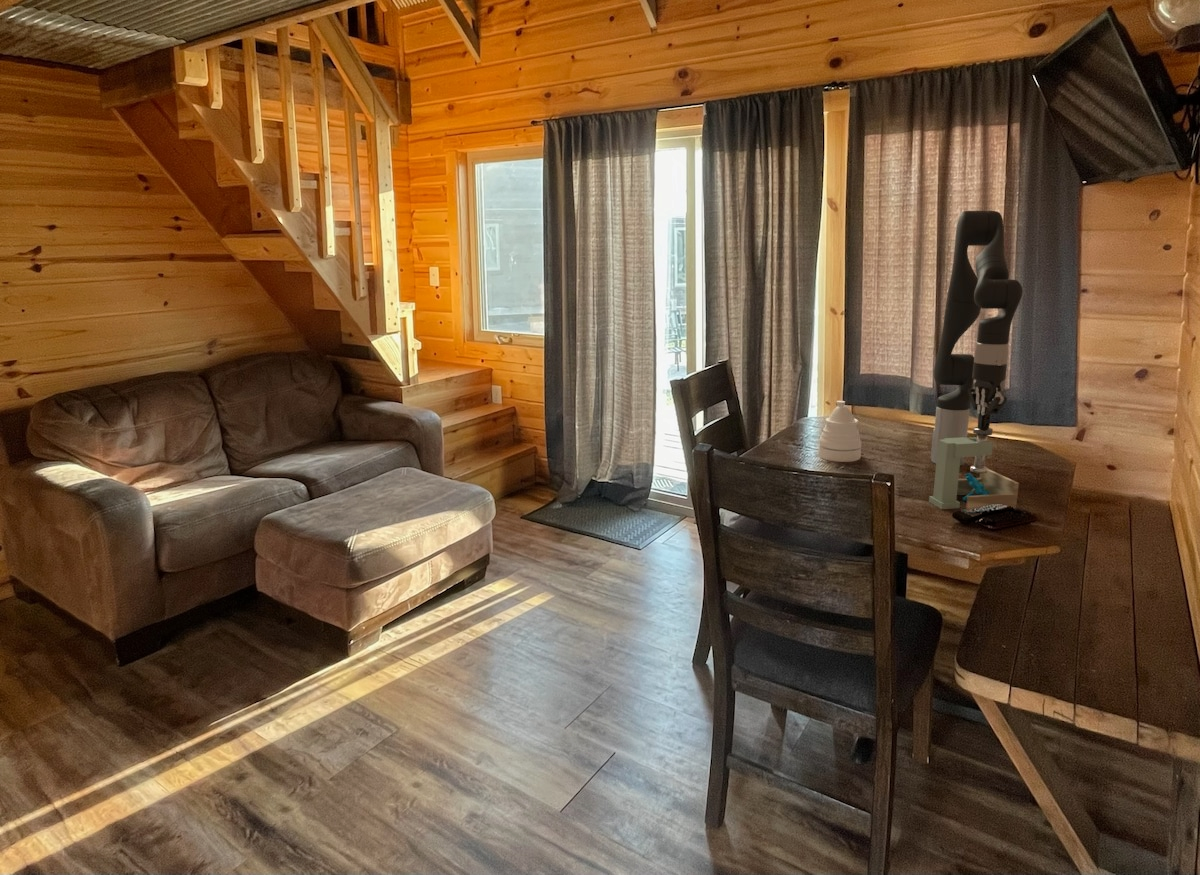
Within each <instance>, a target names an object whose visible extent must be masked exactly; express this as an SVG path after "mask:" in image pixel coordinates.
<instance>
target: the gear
mask: <svg viewBox="0 0 1200 875" xmlns="http://www.w3.org/2000/svg"><path fill="white" fill-rule="evenodd" d="M964 475H965V479H967V480H968V481H969V484H970V486H971V487H973V488H974V489H973V490H972V492H971V493H969V494H965V496H964V497H962V500H963V502H967V496H976V495H990V493H989V492H988V491H987V490H985V487H984V486H983V483H982V482H980V483H979V482H978V481H979V480H978V479H977V478H978V477H977V476H976V477H975V476H974V475H973V474H972V472H967V473H965V474H964Z"/></svg>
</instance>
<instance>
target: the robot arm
mask: <svg viewBox="0 0 1200 875" xmlns="http://www.w3.org/2000/svg"><path fill="white" fill-rule="evenodd" d="M1004 228H1005V227H1004V220H1003V216H1002V214H1001V212H999V211H997V210H964V211H962V212H961V213H960V214H959V216H958V220H957V223H956V229H955V230H956V231H955V237H954V238H955V239H954V249H953V250H954V251H953V261H952V262H953V263H952V268H951V275H950V279H949V284H948V290H947V294H946V295H947V296H946V301H945V308H944V309H945V310H944V317H943V326H942V331H941V338H940V342H939V345H938V351H937V355H936V357H935V358H936V359H935V364H934V370H933V377H934V378H933V380H934V381H935V383H936V384H938V385H942V386H957V388H956V389H955V390H953V391H951V392H949V393H946V394H943V395H940V396H939V397H937V400H936V407H935V408H936V409H935V418H934V428H933V430H932V435H931V436H932V438H931V449H930V462H932V463H933V464H936V461H937V451H938V441H939V440H942V439H944V438H960V437H965V438H968V430H969V419H970V410H971V405H972V408H973V410H974V411H976V412H977V414H978V417H977V418H978V419H977V427H978V428H979V429H982V430H983V429H989V428H990V426H991V425H990V424H991V416H992V415H996V414H998V413H999V411H1000V410H1001V409H1002V407H1003V406H1004V404H1005V403H1006V402H1007V396H1003V395H1002V393H1001V392H1002V386H1001V385H1002V384H1001V383H1002V382H1004V381H1005V380H1006V378H1007V376H1006V375H1007V368H1008V361H1009V360H1008V359H1009V341H1010V340H1009V339H1010V334H1011V333H1010V332H1011V326H1012V322H1013V318H1014V316H1015V315H1016V314H1015V313H1016V311H1017V309H1018V307H1019V305H1020V302H1021V300H1022V296H1023V287H1022V284H1021V283H1020V281H1019V280H1016V279H1009V277H1010V272H1009V269H1008V265H1007V262H1006V257H1005V229H1004ZM970 246H972V247H977V246H978V247H980V246H981V247H983V246H985V248H983V249H982V250H981V251H980V252H979V254H978V256H977V257H976V260H975V264H974V265H975V266H974V267H975V271H974V269H973V267H972V264H971V261H970V259H969V255H968V248H969V247H970ZM981 309H989V310H990V309H997V310H998V309H999V310H1001V309H1002V310H1001V311H1000V313H999V314H998V315H996V316H993V317H988V318H984V319H981V320H980V321H979V322H978V327H977V328H978V329H977V337H976V338H977V340H976V346H975V350H974V355H973V354H968V353H952V352H953V350H954V348H955V346H956V344H957V343H958V341H959V340H960V338H961V337H962V336H963V335H964V334H965V333H966V331H968V330H969V329H970V328H971V326H972V325H973V324H974V323H975V322H976V320H977V319H978V318H979V316H980V313H981ZM974 381H975V382H974ZM965 458H966V457H961V459H960V466H963V465H965Z"/></svg>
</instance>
